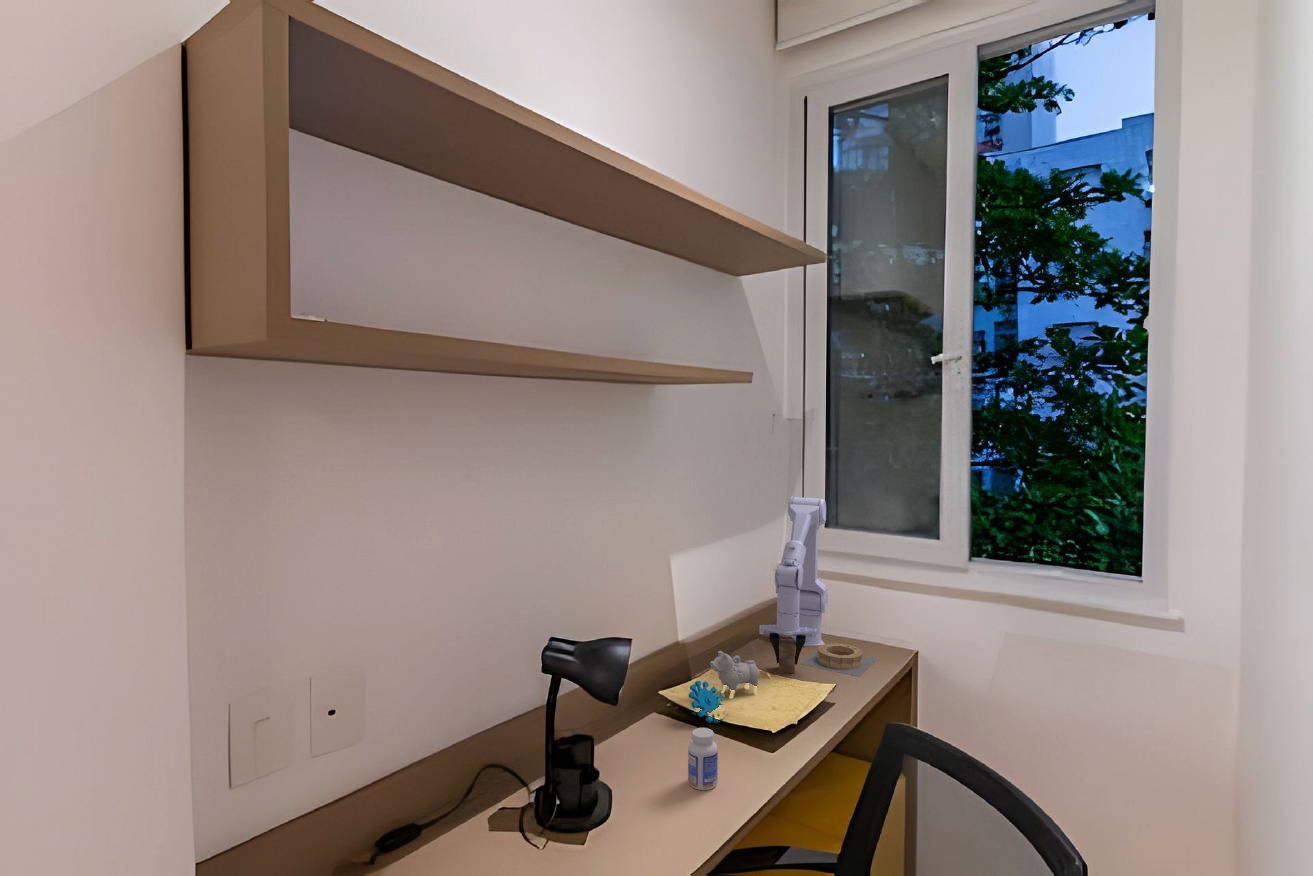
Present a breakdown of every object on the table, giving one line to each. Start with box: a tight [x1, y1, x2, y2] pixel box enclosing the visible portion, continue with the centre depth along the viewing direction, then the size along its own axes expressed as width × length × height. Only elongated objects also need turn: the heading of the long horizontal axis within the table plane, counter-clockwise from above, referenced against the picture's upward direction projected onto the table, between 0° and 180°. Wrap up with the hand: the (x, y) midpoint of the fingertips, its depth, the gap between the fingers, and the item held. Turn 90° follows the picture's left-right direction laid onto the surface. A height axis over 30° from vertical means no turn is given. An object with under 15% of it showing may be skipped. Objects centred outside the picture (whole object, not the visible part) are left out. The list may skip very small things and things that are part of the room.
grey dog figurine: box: [709, 650, 761, 691], centre depth 177 cm, size 5×13×11 cm, turn 114°
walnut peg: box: [778, 638, 796, 674], centre depth 192 cm, size 4×4×8 cm
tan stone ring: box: [817, 642, 864, 669], centre depth 199 cm, size 12×12×3 cm
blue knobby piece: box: [688, 680, 726, 724], centre depth 164 cm, size 11×6×10 cm
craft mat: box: [800, 650, 879, 678], centre depth 199 cm, size 16×16×1 cm
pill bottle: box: [687, 727, 719, 791], centre depth 135 cm, size 5×5×10 cm
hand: (787, 662), depth 192 cm, fingers closed on walnut peg, 4 cm apart
